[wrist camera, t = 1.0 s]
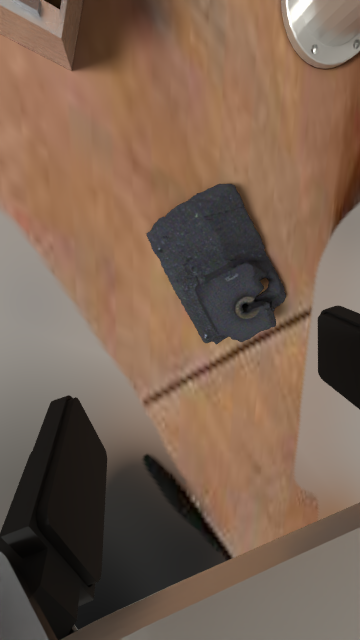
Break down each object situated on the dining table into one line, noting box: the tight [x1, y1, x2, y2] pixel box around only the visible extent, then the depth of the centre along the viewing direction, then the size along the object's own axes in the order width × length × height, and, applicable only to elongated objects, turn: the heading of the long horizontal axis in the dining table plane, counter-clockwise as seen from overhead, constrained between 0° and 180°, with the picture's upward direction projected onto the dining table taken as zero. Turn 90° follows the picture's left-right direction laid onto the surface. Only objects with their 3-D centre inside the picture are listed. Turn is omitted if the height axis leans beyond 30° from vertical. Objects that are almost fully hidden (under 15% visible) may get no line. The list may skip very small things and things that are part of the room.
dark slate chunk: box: [147, 184, 286, 344], centre depth 35 cm, size 15×22×5 cm
